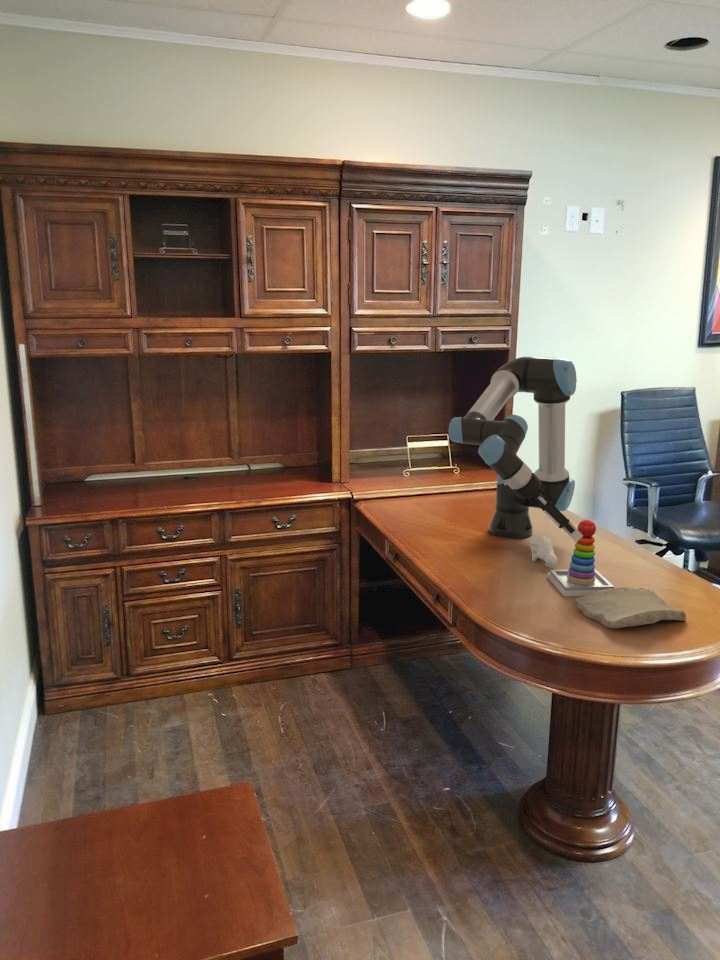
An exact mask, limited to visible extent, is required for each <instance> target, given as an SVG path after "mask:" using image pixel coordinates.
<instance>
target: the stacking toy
mask: <svg viewBox="0 0 720 960" xmlns="http://www.w3.org/2000/svg"><path fill="white" fill-rule="evenodd" d="M577 530H578V531H579V532H580V533H581V534H582V535H583V537H582V538H581V539H579V540H578V541H577V542H575V544H574V547H575V548H574V549H573V554H572V555H571V557H570V559H571V561H570V562H569V567H568V569H567V570H568V571H569V573H568V574H567V579H568V580H569V581H570V582H572V583H574V584H578V585H590V584H593V583H594V582H595V577H594V575H595V570H594V569H595V568H596V564H595V562H596V561H595V555H596V552H595V549H596V546H595V545H596V544H594V543H595V537H594V535H595V534H596V531H597V525H596V523H595V522H594V521H593V520H590V519H584V520H581V521H580V522H579V523H578V525H577Z"/></svg>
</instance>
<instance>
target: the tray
mask: <svg viewBox="0 0 720 960" xmlns="http://www.w3.org/2000/svg"><path fill="white" fill-rule="evenodd" d="M568 570H569V569H552V570H551V569H550V570H549V572H547V578H548V580H549V581H550V582H551V583H552V585H554V586H555V588H556V589H557V590H558V591H559V592H560V594H562V596H563V597H583V596H586V595H590V594H593V593H596V592H598V591H600V590H604V589H610V588H611V589H615V586H614V585H613V584H612V583H611V582H610V581H609V580H608V579H607V578H606V577H605V576H603V575H602V573H600V572H599V571H598V570H597V569H594V570H595V575H594V577H595V582H594V583H593V584H590V585H578V584H574V583H572V582H570V581H569V580H568V579H567V574H568V573H569V571H568Z"/></svg>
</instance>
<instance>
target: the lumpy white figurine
mask: <svg viewBox="0 0 720 960" xmlns="http://www.w3.org/2000/svg"><path fill="white" fill-rule="evenodd" d="M529 548H530V551H531V556H532V557H531V561H532V562H535V561H536V560H537V559H540V560H542V561H544V563H543V565H544V568H545V567H547V568H550V569H553V568H554V567H555V566H556V565H557V564H558V558H557V556H556V555H555V550H554V549H553V545H552V542H551V540H550V538H548V536H546V535H545V534H542V533H539V534H536V535H534V536H533V537H532V538H531V541H530V542H529Z"/></svg>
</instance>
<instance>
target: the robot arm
mask: <svg viewBox="0 0 720 960" xmlns="http://www.w3.org/2000/svg"><path fill="white" fill-rule="evenodd" d="M577 379H578V378H577V370H576V366H575V364H574V362H573V361H572V360H570V359H568V358H561V357H548V356H547V357H545V356H544V357H543V356H540V357H539V356H521V357H517V358H515V359H511V360H510V361H508V362H506V363H505V364H503V365H502V366H500V367H499V368H498V369H497V370H496V371H495V372H494V373H493V374H492V376H491V379H490V384H489V385H488V386H487V387H486V388H485V390H484V391H483V393H481V395H480V396H479V398H478V399H477V400H476V402H475V403H474V404H473V405H472V407H470V409H469V410H468V411H467V413H466V414H465V416H463V417H462V416H459V417H458V416H457V417H456V416H455V417H453V418H452V419H450V422H449V424H448V437H449V439H450V441H451V442H453V443H458V444H462V445H464V444H467V445H476V446H478V450H477V452H478V455H479V456H480V457H481V459H482V460H483V461H484V462H485V464H486V465H488V466H489V467H490V469H491V470H492V471H493V472H495V474H496V475H497V481H496V495H495V512H494V513H493V517H492V519H491V522H490V524H489V532H490V533H491V534H492V535H495V536H497V537H501V538H505V539H506V538H509V539H523V538H529V537H530V536H532V535H533V525H532V520H531V517H530V514H529V513H530V512H529V509H530V508H534V509H539V510H541V511H543V512H544V514H545V515H547V517H548V518H549V519H550V520H551V521H552V522H553V523H554V524H555V525H556V527H558V529H562V530H563V531H564V532H565V533H566V534H567V535H568V536H569V537H570V538H571V539H572V540H573V541H574V542H575V543H576V542H577V541H578V540H579V539H581V538H582V537H583V535H582V534H581V533H580V532H579V531H578V528H576V526H575V525H573V523H572V522H571V521H570V519H569V518H567V517H566V516H565V515H564V514H563V513H562V512H565V511H567V509H568V508H569V507H570V505H571V503H572V501H573V496H574V492H575V486H576V483H575V482H576V481H575V479H574V478H570V472H569V470H568V469H567V468H566V467H565V465H566V464H565V463H566V462H565V461H566V455H565V454H566V403H568V402H569V401H570V400H571V396H573V395H574V394H575V392H576V389H577ZM517 393H530V394H533V401H534V402H535V403H536V404H538V407H537V408H538V411H537V412H538V468H537V469H536V470H535V471H534V472H533V470H532V469H531V468H530V467H529V466H528V465H527V464H526V463H525V462H524V461H523V460H522V459H521V458H520V457H519V455H518V452H519V450H520V448H521V446H522V443H523V442H524V440H525V438H526V436H527V432H528V430H529V426H528V422H527V421H526V419H524V417H522V416H520V415H518V414H510V415H507V416H506V417H505V418H504V419H503V420H495V418H496V417H497V415H498V414H499V413H500V411H501V410H502V409H503V407H504V406H505V404H506V403H507V402H508V400H509V399H510V398H512V397H514V396H515V395H516V394H517Z"/></svg>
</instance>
